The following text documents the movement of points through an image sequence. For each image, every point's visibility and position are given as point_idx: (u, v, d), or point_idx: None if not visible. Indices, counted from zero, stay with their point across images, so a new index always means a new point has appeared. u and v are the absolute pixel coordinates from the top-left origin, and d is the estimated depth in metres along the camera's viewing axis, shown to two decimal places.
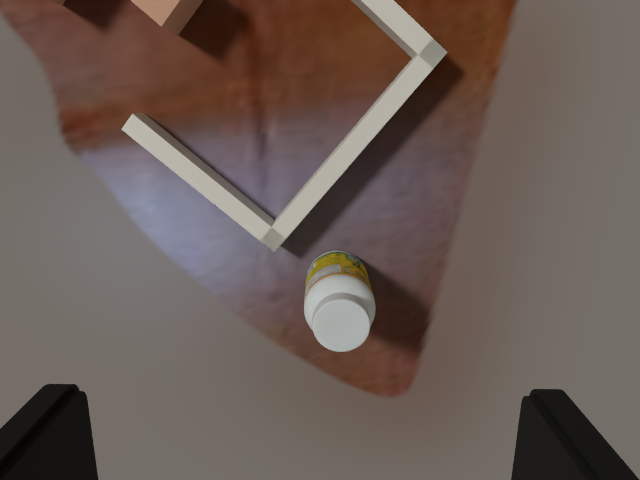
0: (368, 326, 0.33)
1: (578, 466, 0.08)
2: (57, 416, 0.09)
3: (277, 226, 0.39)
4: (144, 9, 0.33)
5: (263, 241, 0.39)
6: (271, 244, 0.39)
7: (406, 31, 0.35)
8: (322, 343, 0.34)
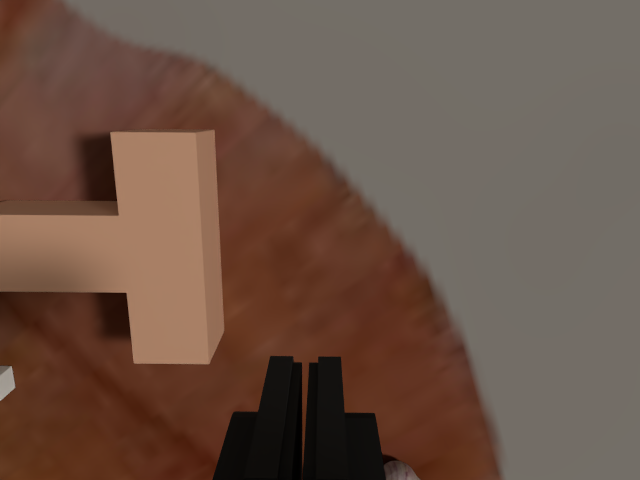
0: None
1: (307, 416, 0.09)
2: (298, 382, 0.10)
3: None
4: None
5: None
6: None
7: None
8: None
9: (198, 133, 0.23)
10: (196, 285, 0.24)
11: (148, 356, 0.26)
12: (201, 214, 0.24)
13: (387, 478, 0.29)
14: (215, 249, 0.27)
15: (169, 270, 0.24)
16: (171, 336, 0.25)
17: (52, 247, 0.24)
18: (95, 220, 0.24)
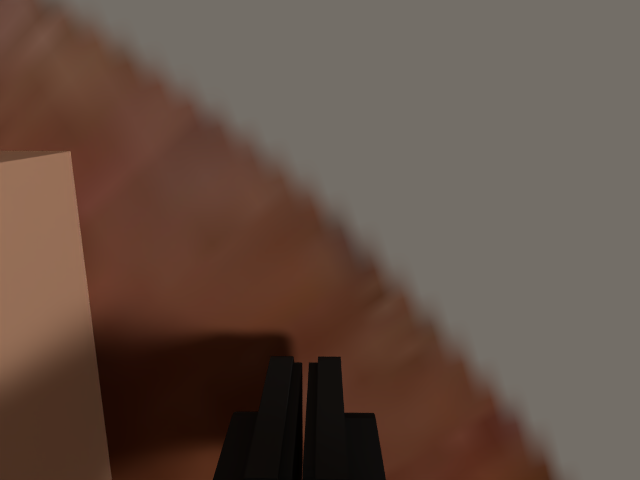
0: None
1: (307, 416, 0.09)
2: (299, 382, 0.10)
3: None
4: None
5: None
6: None
7: None
8: None
9: None
10: None
11: None
12: None
13: None
14: (79, 422, 0.12)
15: None
16: None
17: None
18: None
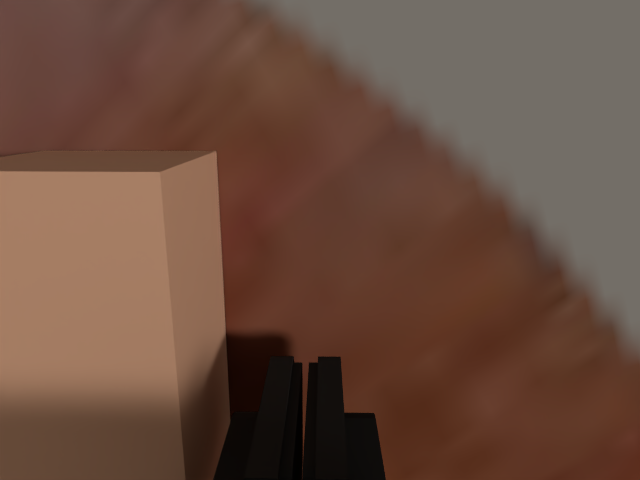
0: None
1: (307, 416, 0.09)
2: (299, 382, 0.10)
3: None
4: None
5: None
6: None
7: None
8: None
9: (170, 171, 0.08)
10: None
11: None
12: (182, 392, 0.09)
13: None
14: (219, 424, 0.12)
15: None
16: None
17: None
18: None
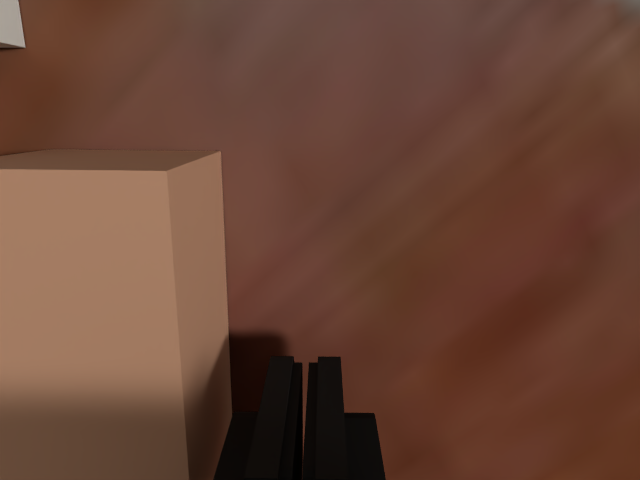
0: None
1: (307, 416, 0.09)
2: (299, 382, 0.10)
3: None
4: None
5: None
6: None
7: None
8: None
9: (177, 171, 0.08)
10: None
11: None
12: (186, 390, 0.09)
13: None
14: (222, 422, 0.12)
15: None
16: None
17: None
18: None
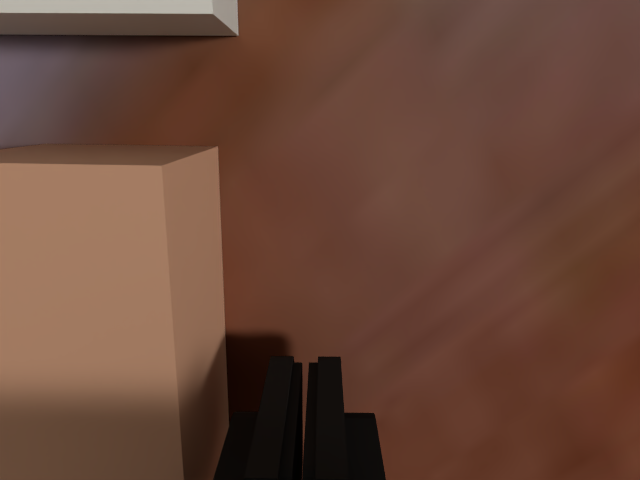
0: None
1: (307, 416, 0.09)
2: (299, 382, 0.10)
3: None
4: None
5: None
6: None
7: None
8: None
9: (172, 165, 0.08)
10: None
11: None
12: (181, 388, 0.09)
13: None
14: (218, 420, 0.12)
15: None
16: None
17: None
18: None
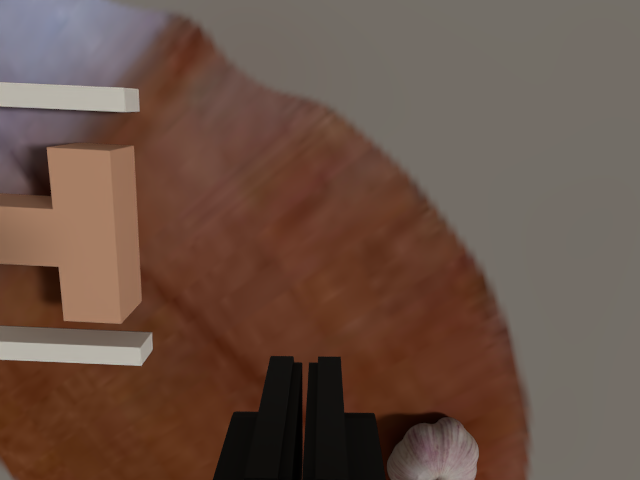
0: None
1: (307, 416, 0.09)
2: (299, 382, 0.10)
3: None
4: None
5: None
6: None
7: None
8: None
9: (113, 151, 0.31)
10: (111, 263, 0.33)
11: (75, 315, 0.34)
12: (115, 210, 0.32)
13: (444, 428, 0.38)
14: (132, 237, 0.35)
15: (90, 251, 0.32)
16: (92, 301, 0.33)
17: (3, 230, 0.32)
18: (35, 211, 0.32)
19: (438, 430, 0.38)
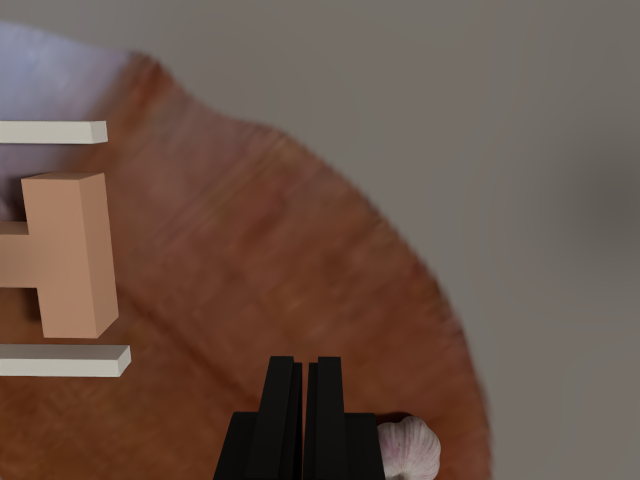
0: None
1: (307, 416, 0.09)
2: (299, 382, 0.10)
3: None
4: None
5: None
6: None
7: None
8: None
9: (82, 179, 0.34)
10: (85, 283, 0.35)
11: (54, 332, 0.36)
12: (86, 234, 0.35)
13: (406, 427, 0.40)
14: (105, 257, 0.38)
15: (65, 272, 0.35)
16: (69, 318, 0.36)
17: None
18: (13, 237, 0.34)
19: (401, 429, 0.40)
